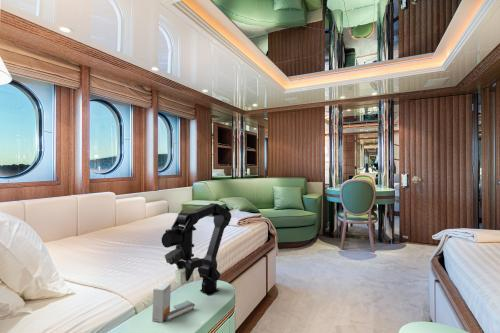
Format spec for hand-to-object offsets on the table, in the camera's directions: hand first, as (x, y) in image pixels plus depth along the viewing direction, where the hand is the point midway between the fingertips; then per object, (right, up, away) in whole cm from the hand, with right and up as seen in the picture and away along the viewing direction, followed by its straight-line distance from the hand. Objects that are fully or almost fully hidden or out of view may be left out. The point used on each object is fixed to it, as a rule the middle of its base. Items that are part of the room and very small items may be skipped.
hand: (184, 279), depth 109 cm
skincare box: (-7, -11, -9) cm, 16 cm away
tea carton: (0, -1, 0) cm, 1 cm away
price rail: (0, -11, -7) cm, 13 cm away
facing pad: (0, -11, -1) cm, 11 cm away
